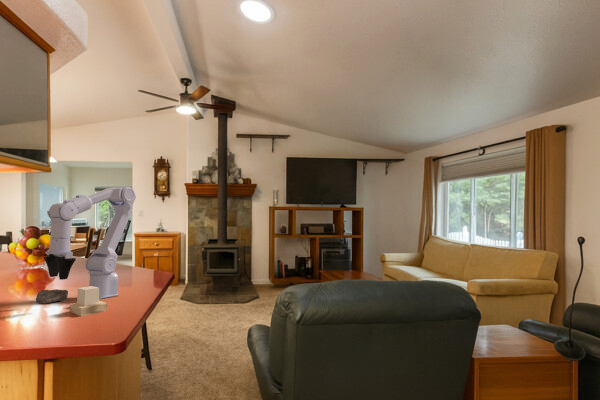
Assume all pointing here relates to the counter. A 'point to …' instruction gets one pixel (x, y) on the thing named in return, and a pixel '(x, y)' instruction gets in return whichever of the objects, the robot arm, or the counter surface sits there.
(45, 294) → the rock
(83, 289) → the ivory cube
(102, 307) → the maple slab
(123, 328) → the counter surface
